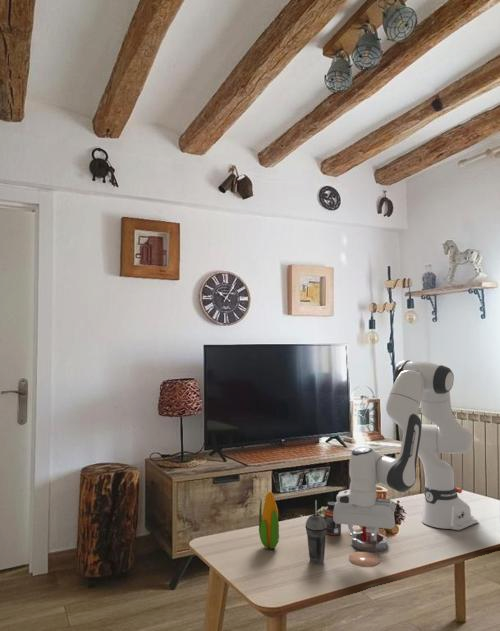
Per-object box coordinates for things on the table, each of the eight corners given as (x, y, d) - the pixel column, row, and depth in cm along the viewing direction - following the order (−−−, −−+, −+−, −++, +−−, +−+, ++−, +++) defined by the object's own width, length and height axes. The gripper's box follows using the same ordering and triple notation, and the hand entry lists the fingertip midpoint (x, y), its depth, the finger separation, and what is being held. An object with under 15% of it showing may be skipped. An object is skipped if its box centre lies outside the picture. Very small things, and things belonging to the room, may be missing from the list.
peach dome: (365, 551, 177) (365, 549, 177) (385, 562, 168) (385, 560, 168) (342, 557, 172) (342, 555, 172) (362, 568, 163) (362, 567, 163)
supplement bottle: (340, 536, 190) (340, 506, 191) (324, 535, 191) (324, 505, 192) (341, 530, 196) (340, 501, 197) (325, 529, 197) (325, 500, 198)
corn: (264, 554, 175) (264, 496, 176) (255, 546, 182) (255, 490, 183) (284, 551, 178) (283, 493, 179) (274, 543, 185) (273, 487, 186)
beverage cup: (305, 566, 166) (304, 504, 166) (306, 557, 173) (305, 497, 174) (328, 567, 165) (327, 505, 166) (327, 558, 172) (326, 498, 173)
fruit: (321, 525, 207) (323, 504, 210) (339, 530, 201) (342, 508, 203) (306, 523, 202) (309, 502, 204) (325, 527, 195) (328, 506, 198)
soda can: (370, 539, 187) (370, 506, 187) (381, 545, 182) (381, 511, 182) (359, 543, 184) (359, 509, 184) (370, 548, 179) (370, 514, 179)
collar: (371, 536, 191) (371, 527, 191) (393, 547, 180) (393, 538, 180) (343, 542, 185) (343, 533, 185) (365, 554, 174) (365, 545, 174)
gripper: (395, 496, 171) (396, 538, 170) (334, 491, 177) (335, 532, 176) (394, 502, 165) (395, 546, 164) (331, 497, 171) (332, 538, 170)
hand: (363, 538), depth 170 cm, fingers open, 5 cm apart
